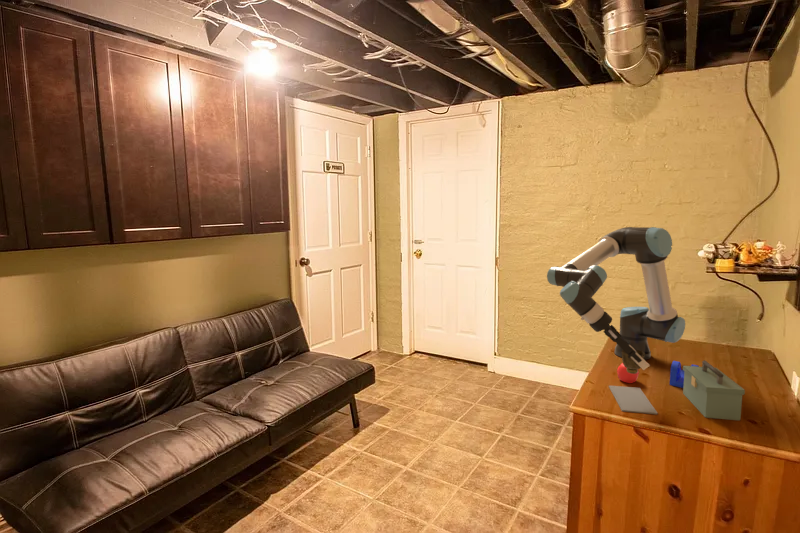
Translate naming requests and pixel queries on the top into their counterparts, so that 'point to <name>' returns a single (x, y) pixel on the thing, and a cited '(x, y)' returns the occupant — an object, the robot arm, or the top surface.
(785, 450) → the top surface
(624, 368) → the apple
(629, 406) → the rubber mat
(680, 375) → the bracket
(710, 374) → the toolbox
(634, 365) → the cup
